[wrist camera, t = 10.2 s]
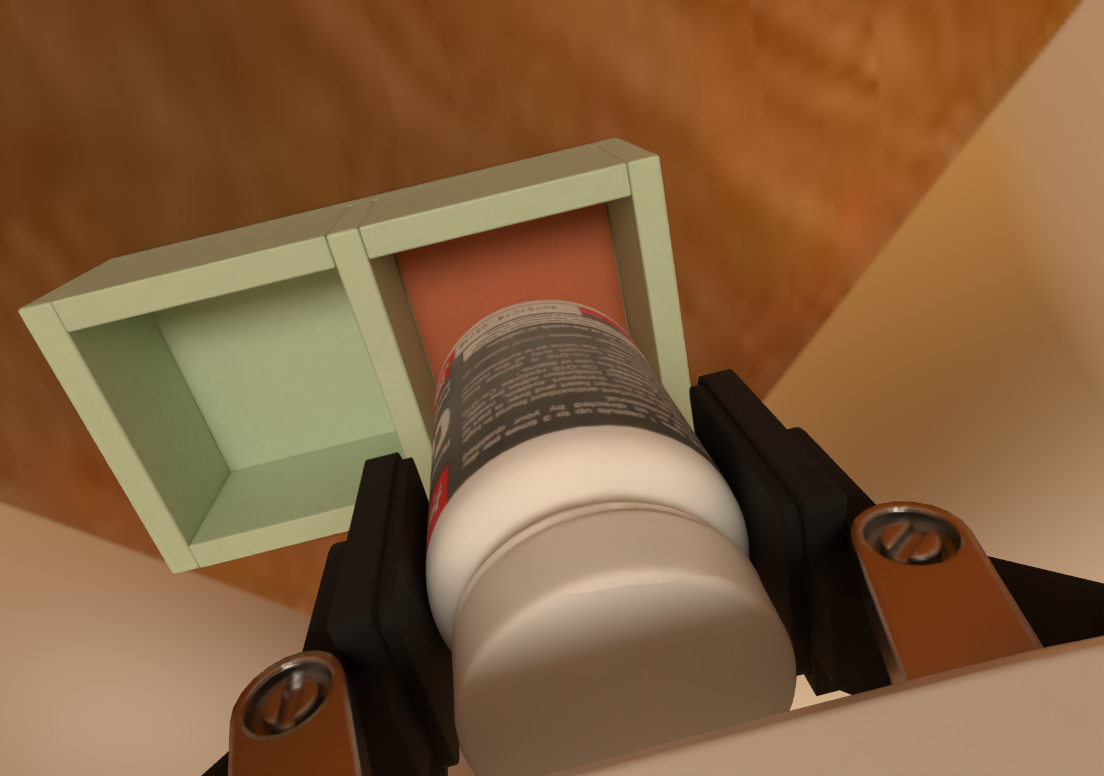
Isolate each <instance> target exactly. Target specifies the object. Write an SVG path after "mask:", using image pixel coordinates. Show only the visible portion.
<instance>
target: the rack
mask: <svg viewBox="0 0 1104 776" xmlns="http://www.w3.org/2000/svg"><path fill="white" fill-rule="evenodd" d="M536 300H563V301H570V302H575V303H579V304H582V305H585V306H588V307H591V308H593V309H595V310H597V311H599V312H601V313H603V314H604V315H606V316H608V317H609V318H611V319H612V320H613V321H615V322H616V323H617V324H618V325H619V326H621V327H622V328H623V329H624V330H625V331H626V332H627V333H628V334H629V336H630V337H631V338H632V339H633V341H634V342H635V343H636V344H637V345H638V347H639V348H640V350H641V351H642V353H643V354H644V356H645V357H646V359H647V361H648V363H649V364H650V366H651V367H652V368H653V370H654V372H655V374H656V375H657V377H658V378H659V380H660V381H661V383H662V385H663V386H664V388H665V389H666V391H667V392H668V394H669V395H670V397H671V398H672V400H673V401H674V403H675V404H676V406H677V407H678V409H679V410H680V412H681V413H682V415H683V416H684V418H685V419H686V421H687V422H688V424H689V425H690V427H691V429H692V430H693V432H694V426H693V418H692V411H691V404H690V397H689V389H690V387H691V384H690V377H689V370H688V362H687V355H686V348H685V340H684V333H683V326H682V319H681V311H680V304H679V297H678V289H677V282H676V275H675V267H674V260H673V253H672V245H671V238H670V231H669V224H668V216H667V209H666V202H665V194H664V187H663V180H662V172H661V165H660V158H659V156H658V155H656V154H654V153H652V152H649V151H647V150H645V149H642V148H640V147H638V146H635V145H633V144H631V143H628V142H626V141H624V140H621V139H618V138H611V139H607V140H603V141H599V142H595V143H590V144H586V145H582V146H578V147H574V148H570V149H565V150H561V151H557V152H553V153H549V154H545V155H541V156H536V157H532V158H528V159H524V160H520V161H516V162H511V163H507V164H503V165H499V166H495V167H491V168H487V169H482V170H478V171H474V172H470V173H466V174H462V175H457V176H453V177H449V178H445V179H441V180H437V181H433V182H428V183H424V184H420V185H416V186H412V187H408V188H403V189H399V190H395V191H391V192H387V193H383V194H379V195H374V196H370V197H366V198H362V199H358V200H354V201H349V202H345V203H341V204H337V205H333V206H329V207H324V208H320V209H316V210H312V211H308V212H304V213H300V214H295V215H291V216H287V217H283V218H279V219H275V220H270V221H266V222H262V223H258V224H254V225H250V226H246V227H241V228H237V229H233V230H229V231H225V232H221V233H216V234H212V235H208V236H204V237H200V238H196V239H192V240H187V241H183V242H179V243H175V244H171V245H167V246H162V247H158V248H154V249H150V250H146V251H142V252H138V253H133V254H129V255H125V256H121V257H117V258H113V259H110V260H108V261H107V262H105V263H103V264H101V265H100V266H97V267H95V268H94V269H92V270H90V271H88V272H86V273H84V274H83V275H81V276H79V277H77V278H75V279H73V280H72V281H70V282H68V283H66V284H64V285H62V286H61V287H59V288H57V289H55V290H53V291H51V292H50V293H48V294H46V295H44V296H42V297H41V298H39V299H37V300H35V301H33V302H31V303H30V304H28V305H26V306H24V307H22V308H21V309H19V314H20V316H21V317H22V319H23V321H24V322H25V324H26V326H27V327H28V329H29V331H30V333H31V334H32V336H33V338H34V339H35V341H36V343H37V344H38V346H39V348H40V350H41V351H42V353H43V355H44V356H45V358H46V360H47V361H48V363H49V365H50V366H51V368H52V370H53V372H54V373H55V375H56V377H57V378H58V380H59V382H60V383H61V385H62V387H63V388H64V390H65V392H66V394H67V395H68V397H69V399H70V400H71V402H72V404H73V405H74V407H75V409H76V411H77V412H78V414H79V416H80V417H81V419H82V421H83V422H84V424H85V426H86V427H87V429H88V431H89V433H90V434H91V436H92V438H93V439H94V441H95V443H96V444H97V446H98V448H99V449H100V451H101V453H102V455H103V456H104V458H105V460H106V461H107V463H108V465H109V466H110V468H111V470H112V472H113V473H114V475H115V477H116V478H117V480H118V482H119V483H120V485H121V487H122V488H123V490H124V492H125V494H126V495H127V497H128V499H129V500H130V502H131V504H132V505H133V507H134V509H135V510H136V512H137V514H138V516H139V517H140V519H141V521H142V522H143V524H144V526H145V527H146V529H147V531H148V533H149V534H150V536H151V538H152V539H153V541H154V543H155V544H156V546H157V548H158V549H159V551H160V553H161V555H162V556H163V558H164V560H165V561H166V563H167V565H168V566H169V568H170V570H171V571H172V573H173V574H176V573H180V572H184V571H188V570H192V569H196V568H199V567H206V566H210V565H214V564H218V563H222V562H226V561H230V560H234V559H238V558H242V557H246V556H250V555H254V554H258V553H262V552H266V551H270V550H274V549H278V548H282V547H286V546H290V545H294V544H298V543H302V542H306V541H310V540H314V539H318V538H321V537H325V536H329V535H333V534H337V533H341V532H345V531H349V528H350V523H351V519H352V515H353V511H354V506H355V502H356V498H357V493H358V489H359V485H360V481H361V476H362V472H363V468H364V463H365V461H366V460H368V459H372V458H376V457H380V456H384V455H388V454H392V453H396V452H398V453H399V454H400V455H401V457H402V459H406V458H409V457H412V458H413V460H414V462H415V464H416V467H417V470H418V472H419V475H420V478H421V481H422V484H423V486H424V489H425V492H426V495H427V498H428V501H429V496H430V476H431V460H432V443H433V425H434V400H435V394H436V388H437V383H438V379H439V375H440V372H441V370H442V367H443V365H444V362H445V360H446V358H447V356H448V355H449V353H450V352H451V350H452V349H453V347H454V346H455V344H456V343H457V342H458V340H459V339H460V338H461V337H462V336H463V335H464V334H465V333H466V332H467V331H468V330H469V329H470V328H471V327H472V326H473V325H475V324H476V323H477V322H479V321H480V320H481V319H483V318H485V317H486V316H488V315H490V314H491V313H493V312H495V311H498V310H500V309H502V308H505V307H508V306H511V305H514V304H518V303H522V302H528V301H536Z"/></svg>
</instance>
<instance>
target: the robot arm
mask: <svg viewBox="0 0 1104 776" xmlns="http://www.w3.org/2000/svg"><path fill="white" fill-rule="evenodd" d="M689 397H690V404H691V411H692V418H693V426H694V433H695V435H696V436H697V438H698V439H699V441H700V442H701V444H702V445H703V446H704V448H705V449H706V451H707V452H708V454H709V455H710V457H711V459H712V460H713V462H714V463H715V464H716V466H717V467H718V468H719V470H720V471H721V473H722V475H723V477H724V478H725V480H726V482H727V484H728V485H729V487H730V489H731V491H732V493H733V494H734V496H735V498H736V500H737V502H738V504H739V507H740V509H741V512H742V514H743V517H744V521H745V524H746V528H747V533H748V540H749V560H750V562H751V563H752V565H753V566H754V568H755V570H756V571H757V573H758V575H759V577H760V580H761V582H762V585H763V587H764V589H765V590H766V592H767V594H768V596H769V598H770V600H771V602H772V604H773V606H774V608H775V610H776V611H777V613H778V615H779V617H780V619H781V621H782V623H783V625H784V627H785V629H786V631H787V633H788V635H789V637H790V640H791V643H792V647H793V650H794V655H795V660H796V676H798V675H802V674H804V675H805V677H806V679H807V681H808V682H809V684H810V686H811V688H812V689H813V691H814V693H815V695H816V696H819V695H823V694H827V693H831V692H834V691H838V690H840V691H843V692H846V693H848V694H851V696H847V697H843V698H839V699H835V700H831V701H827V702H823V703H819V704H816V705H811V706H808V707H804V708H800V709H796V710H792V711H788V712H784V713H780V714H776V715H772V716H769V717H765V718H761V719H757V720H753V721H749V722H745V723H741V724H738V725H734V726H730V727H726V728H722V729H718V730H715V731H711V732H707V733H703V734H699V735H696V736H692V737H688V738H684V739H680V740H676V741H673V742H669V743H665V744H661V745H657V746H653V747H650V748H646V749H642V750H638V751H634V752H631V753H627V754H623V755H619V756H615V757H612V758H608V759H604V760H600V761H596V762H593V763H589V764H585V765H581V766H577V767H574V768H570V769H566V770H562V771H558V772H555V773H551V774H547V775H543V776H1104V584H1103V583H1099V582H1095V581H1091V580H1086V579H1082V578H1078V577H1074V576H1069V575H1065V574H1061V573H1057V572H1053V571H1048V570H1044V569H1040V568H1036V567H1031V566H1027V565H1023V564H1018V563H1014V562H1010V561H1006V560H1002V559H998V558H994V557H989V556H987V555H986V553H985V552H984V550H983V548H982V547H981V545H980V544H979V542H978V541H977V539H976V538H975V536H974V534H973V532H972V531H971V530H970V529H969V527H968V526H967V525H966V524H965V523H964V522H963V521H962V520H961V519H959V518H958V517H956V516H954V515H953V514H951V513H949V512H948V511H946V510H942V509H940V508H937V507H935V506H932V505H928V504H922V503H917V502H890V503H883V504H878V505H876V504H875V503H874V502H873V501H872V500H871V499H870V498H869V497H868V496H867V495H866V494H865V493H864V492H863V491H862V490H861V489H860V488H859V487H858V486H857V485H856V484H855V483H854V481H853V480H852V479H851V478H850V477H849V476H848V475H847V474H846V473H845V472H844V471H843V470H842V469H841V468H840V467H839V466H838V465H837V464H836V463H835V462H834V461H833V460H832V459H831V458H830V457H829V455H828V454H827V453H826V452H825V451H824V450H823V449H822V448H821V447H820V446H819V445H818V444H817V443H816V442H815V441H814V440H813V439H812V438H811V437H810V436H809V435H808V434H807V433H806V432H805V431H804V430H802V429H801V428H798V427H795V428H791V429H786V428H785V427H784V426H783V425H782V424H781V422H780V421H779V420H778V419H777V418H776V417H775V416H774V415H773V414H772V412H771V411H770V410H769V409H768V408H767V407H766V406H765V405H764V404H763V403H762V402H761V400H760V399H759V398H758V397H757V396H756V395H755V394H754V393H753V392H752V391H751V390H750V388H749V387H748V386H747V385H746V384H745V383H744V382H743V381H742V380H741V379H740V378H739V377H738V375H737V374H736V373H735V372H734V371H733V370H731V369H728V370H724V371H720V372H716V373H712V374H708V375H704V376H700V377H699V379H698V385H697V386H693V387H690V389H689ZM428 511H429V501H428V498H427V495H426V492H425V489H424V486H423V484H422V481H421V478H420V475H419V472H418V470H417V467H416V464H415V462H414V460H413V458H412V457H409V458H406V459H402V457H401V455H400V454H399V453H398V452H396V453H392V454H388V455H384V456H380V457H376V458H372V459H368V460H366V461H365V463H364V468H363V472H362V476H361V481H360V485H359V489H358V493H357V498H356V502H355V506H354V511H353V515H352V519H351V523H350V528H349V532H348V536H347V541H343V542H339V543H335V544H334V545H332V546H331V548H330V550H329V553H328V557H327V561H326V564H325V568H324V572H323V576H322V580H321V583H320V587H319V591H318V595H317V598H316V602H315V606H314V610H313V614H312V617H311V621H310V625H309V629H308V632H307V636H306V640H305V644H304V648H303V652H300V653H297V654H294V655H291V656H288V657H285V658H283V659H282V660H280V661H278V662H276V663H274V664H273V665H271V666H269V667H268V668H267V669H265V670H264V671H263V672H262V673H260V674H259V675H258V676H257V677H256V678H254V679H253V680H252V681H251V683H250V684H249V685H248V686H247V687H246V688H245V689H244V691H243V692H242V693H241V695H240V697H239V698H238V700H237V702H236V704H235V706H234V707H233V711H232V715H231V720H230V735H229V751H228V752H227V753H226V754H225V755H224V756H223V757H222V758H221V759H220V760H218V762H216V763H215V764H214V765H213V766H212V767H211V768H209V769H208V770H207V771H206V772H205V773H204V774H203V775H202V776H448V767H450V766H454V765H457V764H458V762H459V740H458V736H457V731H456V727H455V714H454V689H453V666H452V652H451V650H450V649H449V648H448V646H447V645H446V643H445V642H444V640H443V638H442V636H441V634H440V633H439V630H438V628H437V626H436V623H435V621H434V619H433V615H432V612H431V609H430V605H429V600H428V595H427V586H426V543H427V528H428Z"/></svg>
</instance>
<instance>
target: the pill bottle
mask: <svg viewBox="0 0 1104 776" xmlns="http://www.w3.org/2000/svg"><path fill="white" fill-rule="evenodd" d="M426 586H427V595H428V600H429V605H430V609H431V612H432V615H433V619H434V621H435V623H436V626H437V628H438V630H439V633H440V634H441V636H442V638H443V640H444V642H445V643H446V645H447V646H448V648H449V649H450V650H451V652H452V666H453V689H454V714H455V727H456V731H457V736H458V740H459V745H460V748H461V751H462V753H463V755H464V757H465V759H466V761H467V763H468V765H469V766H470V768H471V769H472V770H473V772H474V773H475V775H476V776H543V775H547V774H551V773H555V772H558V771H562V770H566V769H570V768H574V767H577V766H581V765H585V764H589V763H593V762H596V761H600V760H604V759H608V758H612V757H615V756H619V755H623V754H627V753H631V752H634V751H638V750H642V749H646V748H650V747H653V746H657V745H661V744H665V743H669V742H673V741H676V740H680V739H684V738H688V737H692V736H696V735H699V734H703V733H707V732H711V731H715V730H718V729H722V728H726V727H730V726H734V725H738V724H741V723H745V722H749V721H753V720H757V719H761V718H765V717H769V716H772V715H776V714H780V713H784V712H788V711H789V710H790V708H791V705H792V702H793V698H794V693H795V687H796V677H797V676H796V660H795V655H794V650H793V647H792V643H791V640H790V637H789V635H788V633H787V631H786V629H785V627H784V625H783V623H782V621H781V619H780V617H779V615H778V613H777V611H776V610H775V608H774V606H773V604H772V602H771V600H770V598H769V596H768V594H767V592H766V590H765V589H764V587H763V585H762V582H761V580H760V577H759V575H758V573H757V571H756V570H755V568H754V566H753V565H752V563H751V562H750V560H749V540H748V533H747V528H746V524H745V521H744V517H743V514H742V512H741V509H740V507H739V504H738V502H737V500H736V498H735V496H734V494H733V493H732V491H731V489H730V487H729V485H728V484H727V482H726V480H725V478H724V477H723V475H722V473H721V471H720V470H719V468H718V467H717V466H716V464H715V463H714V462H713V460H712V459H711V457H710V455H709V454H708V452H707V451H706V449H705V448H704V446H703V445H702V444H701V442H700V441H699V439H698V438H697V436H696V435H695V433H694V432H693V430H692V429H691V427H690V425H689V424H688V422H687V421H686V419H685V418H684V416H683V415H682V413H681V412H680V410H679V409H678V407H677V406H676V404H675V403H674V401H673V400H672V398H671V397H670V395H669V394H668V392H667V391H666V389H665V388H664V386H663V385H662V383H661V381H660V380H659V378H658V377H657V375H656V374H655V372H654V370H653V368H652V367H651V366H650V364H649V363H648V361H647V359H646V357H645V356H644V354H643V353H642V351H641V350H640V348H639V347H638V345H637V344H636V343H635V342H634V341H633V339H632V338H631V337H630V336H629V334H628V333H627V332H626V331H625V330H624V329H623V328H622V327H621V326H619V325H618V324H617V323H616V322H615V321H613V320H612V319H611V318H609V317H608V316H606V315H604V314H603V313H601V312H599V311H597V310H595V309H593V308H591V307H588V306H585V305H582V304H579V303H575V302H570V301H563V300H536V301H528V302H522V303H518V304H514V305H511V306H508V307H505V308H502V309H500V310H498V311H495V312H493V313H491V314H490V315H488V316H486V317H485V318H483V319H481V320H480V321H479V322H477V323H476V324H475V325H473V326H472V327H471V328H470V329H469V330H468V331H467V332H466V333H465V334H464V335H463V336H462V337H461V338H460V339H459V340H458V342H457V343H456V344H455V346H454V347H453V349H452V350H451V352H450V353H449V355H448V356H447V358H446V360H445V362H444V365H443V367H442V370H441V372H440V375H439V379H438V383H437V388H436V394H435V400H434V425H433V443H432V460H431V476H430V496H429V511H428V528H427V543H426Z"/></svg>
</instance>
